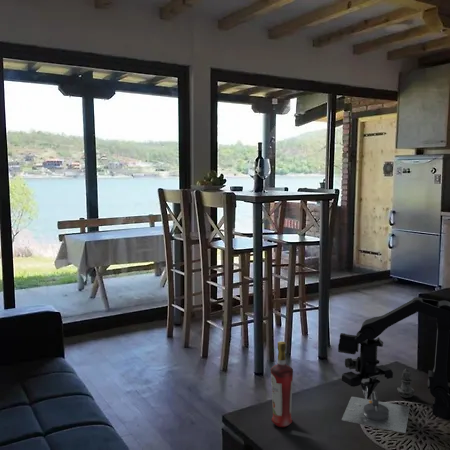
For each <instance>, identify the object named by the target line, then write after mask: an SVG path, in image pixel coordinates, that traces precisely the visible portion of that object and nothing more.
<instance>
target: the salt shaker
mask: <svg viewBox="0 0 450 450" xmlns="http://www.w3.org/2000/svg"><path fill="white" fill-rule="evenodd" d="M411 376H412V375H411V371H410V370H409V369H408V368H407V367H406V368H405V369H403V370H402V371H401V378H400V381H401V385H400V386H398V387H397V391H398V394H399V396H400V397H402V398H406V399H410V398H412V397H413V396H414V393H415V389H414V388H413V387H411V382H412V379H411Z"/></svg>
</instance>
